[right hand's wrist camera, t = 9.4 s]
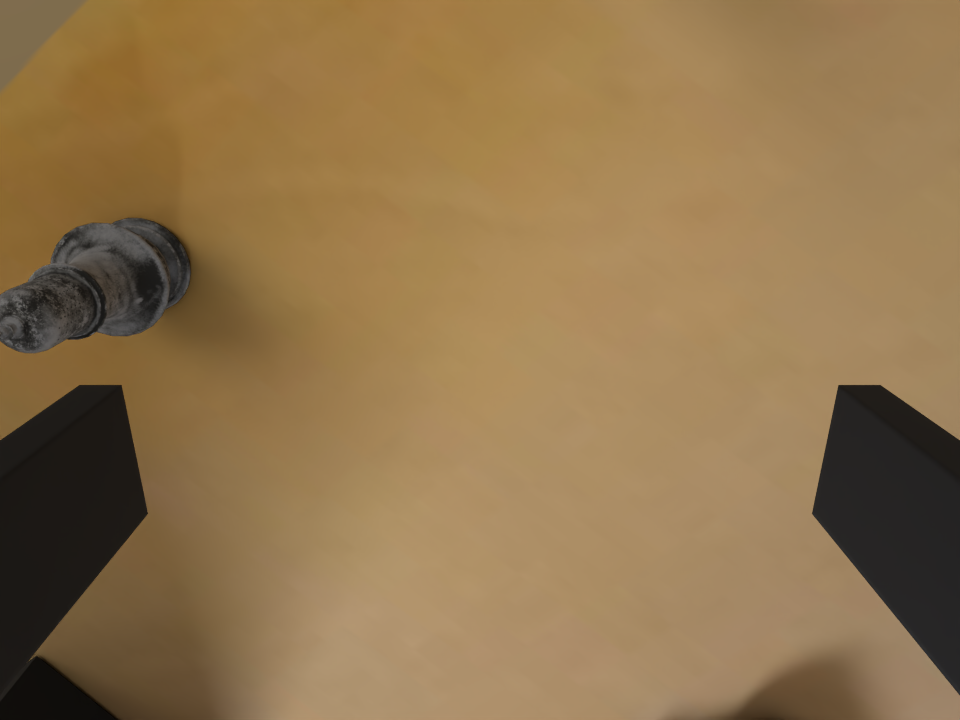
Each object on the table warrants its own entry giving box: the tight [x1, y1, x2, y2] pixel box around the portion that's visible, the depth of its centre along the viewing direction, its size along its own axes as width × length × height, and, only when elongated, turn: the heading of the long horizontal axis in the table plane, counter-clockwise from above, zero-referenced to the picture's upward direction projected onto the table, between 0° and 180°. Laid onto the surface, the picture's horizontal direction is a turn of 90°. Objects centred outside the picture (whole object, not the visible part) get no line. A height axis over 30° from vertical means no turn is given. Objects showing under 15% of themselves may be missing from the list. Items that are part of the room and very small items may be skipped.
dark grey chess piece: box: [0, 218, 191, 353], centre depth 32 cm, size 6×6×12 cm
